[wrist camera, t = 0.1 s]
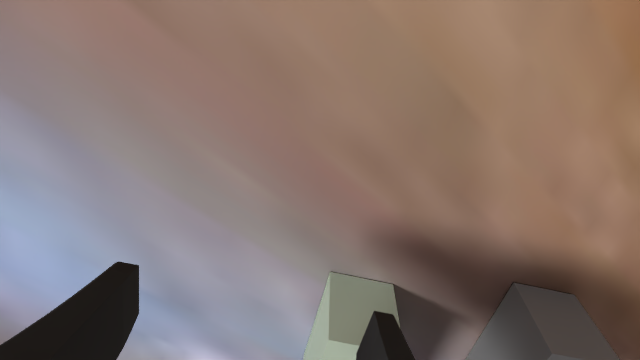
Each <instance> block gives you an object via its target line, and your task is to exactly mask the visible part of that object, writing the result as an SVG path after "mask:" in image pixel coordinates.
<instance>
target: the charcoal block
mask: <svg viewBox="0 0 640 360" xmlns="http://www.w3.org/2000/svg"><path fill="white" fill-rule="evenodd" d="M465 360H620V359H619V357H618V356H617V355H616V353H615V352H614V350H613V349H612V348H611V346H610V345H609V343H608V342H607V340H606V339H605V338H604V336H603V335H602V333H601V332H600V330H599V329H598V328H597V326H596V325H595V323H594V322H593V321H592V319H591V318H590V316H589V315H588V313H587V312H586V311H585V309H584V308H583V306H582V305H581V303H580V302H579V301H578V299H577V298H576V296H575V295H573V294H568V293H563V292H558V291H553V290H548V289H543V288H538V287H533V286H528V285H523V284H518V283H513V284H512V286H511V287H510V289H509V291H508V292H507V294H506V295H505V297H504V299H503V300H502V302H501V303H500V305H499V307H498V308H497V310H496V311H495V313H494V315H493V316H492V318H491V319H490V321H489V323H488V324H487V326H486V327H485V329H484V331H483V332H482V334H481V335H480V337H479V339H478V340H477V342H476V343H475V345H474V347H473V348H472V350H471V351H470V353H469V355H468V356H467V358H466V359H465Z"/></svg>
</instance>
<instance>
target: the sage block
mask: <svg viewBox="0 0 640 360" xmlns="http://www.w3.org/2000/svg"><path fill="white" fill-rule="evenodd" d="M373 311H378V312H384V313H389V314H393V315H394V317H395V319H396V321H397V323H398V325H399V327H400V324H399V318H398V312H397V306H396V300H395V294H394V288H393V284H388V283H383V282H378V281H374V280H369V279H364V278H359V277H354V276H349V275H344V274H339V273H334V272H330V274H329V277H328V280H327V284H326V287H325V290H324V293H323V296H322V299H321V302H320V306H319V309H318V312H317V315H316V318H315V321H314V325H313V328H312V331H311V334H310V337H309V340H308V343H307V347H306V350H305V353H304V359H303V360H356V353H357V351H358V348H359V346H360V343H361V341H362V338H363V336H364V334H365V331H366V329H367V326H368V324H369V321H370V319H371V316H372V314H373Z"/></svg>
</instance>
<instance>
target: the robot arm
mask: <svg viewBox="0 0 640 360" xmlns="http://www.w3.org/2000/svg"><path fill="white" fill-rule="evenodd" d="M138 314H139V265H133V264H128V263H123V262H117V263H115V264H113V265H112V266H111V267H109V268H108V269H107V270H106V271H104V272H103V273H102V274H101V275H99V276H98V277H97V278H95V279H94V280H93V281H92V282H90V283H89V284H88V285H86V286H85V287H84V288H82V289H81V290H80V291H78V292H77V293H76V294H74V295H73V296H72V297H70V298H69V299H68V300H66V301H65V302H63V303H62V304H61V305H59V306H58V307H57V308H55V309H54V310H52V311H51V312H50V313H48V314H47V315H45V316H44V317H42V318H41V319H39V320H38V321H36V322H35V323H33V324H32V325H30V326H29V327H27V328H26V329H24V330H23V331H21V332H20V333H18V334H17V335H15V336H14V337H12V338H11V339H9V340H8V341H6V342H4V343H3V344H1V345H0V360H116V359H117V357H118V356H119V354H120V352H121V351H122V349H123V347H124V345H125V343H126V341H127V339H128V337H129V334H130V332H131V330H132V328H133V326H134V323H135V321H136V319H137V316H138ZM356 360H415V358H414V357H413V354H412V352H411V350H410V348H409V346H408V344H407V342H406V340H405V338H404V336H403V334H402V332H401V329H400V327H399V325H398V323H397V321H396V319H395V317H394V315H393V314H389V313H384V312H378V311H373V314H372V316H371V319H370V321H369V324H368V326H367V329H366V331H365V334H364V336H363V338H362V341H361V343H360V346H359V348H358V351H357V353H356Z"/></svg>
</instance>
